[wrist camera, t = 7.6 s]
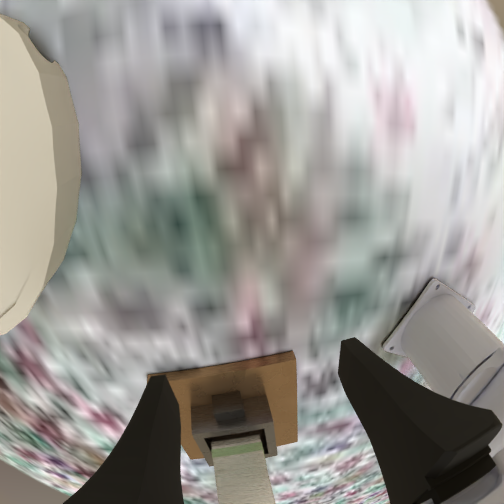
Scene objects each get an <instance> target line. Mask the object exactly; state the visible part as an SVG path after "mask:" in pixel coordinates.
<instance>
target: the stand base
mask: <svg viewBox="0 0 504 504" xmlns="http://www.w3.org/2000/svg"><path fill="white" fill-rule="evenodd" d="M157 375H166V377H167V379H168V381H169V384H170V386H171V388H172V390H173V392H174V395H175V397H176V399H177V401H178V403H179V409H180V419H181V445H182V447H183V448H184V450H185V451H186V453H187V454H188V456H189V458H190V459H200V458H205V460H206V461H207V463H208V465H209V466H214V463H213V458H212V451H211V449H212V445H211V442H214V441H221V440H228V439H235V438H241V437H247V436H252V435H258V434H259V436H260V440H261V441H262V446H263V450H264V455H265V458H267V457H272V456H276V455H277V447H276V446H281V445H285V444H290V443H294V442H298V439H297V373H296V358H295V355H294V352H293V351H290V352H285V353H280V354H276V355H271V356H266V357H261V358H256V359H251V360H245V361H240V362H234V363H228V364H222V365H216V366H210V367H204V368H197V369H190V370H182V371H175V372H167V373H158V374H149V375H148V378H147V383H148V381H149V378H150V377H151V376H157Z"/></svg>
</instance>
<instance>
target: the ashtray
mask: <svg viewBox="0 0 504 504" xmlns="http://www.w3.org/2000/svg"><path fill="white" fill-rule="evenodd" d="M28 28H29V27H28V26H27V25H25V24H24V23H23V22H20V21H18V20H15V19H12V18H10V17H7V16H5V15H2V14H0V335H3V334H6V333H7V332H8V331H10V330H11V329H12V328H13V327H15V326H16V325H17V324H18V323H20V322H21V321H22V320H23V319H25V318H26V317H27V315H28V314H29V312H30V311H31V309H32V308H33V306H34V304H35V302H36V301H37V299H38V297H39V296H40V294H41V292H42V291H43V289H44V288H45V286H46V285H47V283H48V282H49V280H50V279H51V277H52V276H53V275H54V273H55V272H56V271H57V269H58V267H59V266H60V264H61V263H62V261H63V260H64V257H65V254H66V251H67V247H68V244H69V241H70V238H71V235H72V232H73V229H74V226H75V223H76V220H77V209H78V199H79V190H80V182H81V175H82V171H81V159H80V144H79V123H78V120H77V116H76V112H75V109H74V105H73V101H72V97H71V93H70V89H69V85H68V81H67V77H66V76H65V74H64V72H63V70H62V69H61V67H60V65H59V64H58V63H57V62H56V61H55V60H54V62H53V63H51V62H49V61H48V60H46V59H45V58H44V57H43V56H42V55H41V54H40V53H39V51H38V50H37V49H36V47H35V46H34V45H33V43H32V42H31V40H30V38H29V37H28V35H29V31H30V28H29V29H28Z"/></svg>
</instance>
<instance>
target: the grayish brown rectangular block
mask: <svg viewBox="0 0 504 504" xmlns="http://www.w3.org/2000/svg"><path fill="white" fill-rule="evenodd" d="M211 445H212V449H211V451H212V458H213V463H214V471H215V479H216V487H217V495H218V502H219V504H276V503H275V499H274V495H273V491H272V487H271V483H270V479H269V474H268V470H267V465H266V460H265V455H264V450H263V446H262V441H261V440H260V436H259V434H258V435H252V436H247V437H241V438H235V439H228V440H221V441H214V442H211Z"/></svg>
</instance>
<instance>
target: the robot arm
mask: <svg viewBox="0 0 504 504" xmlns="http://www.w3.org/2000/svg"><path fill="white" fill-rule="evenodd" d="M474 310H475V305H474V304H473V303H471V302H470V301H468V300H467V299H465V298H464V297H462V296H461V295H460V294H458V293H457V292H455V291H454V290H452V289H451V288H449V287H448V286H446V285H445V284H443V283H442V282H440V281H439V280H437V279H435V278H434V279H432V280H431V281H430V282H429V284H428V285H427V286H426V288H425V289H424V291H423V292H422V294H421V295H420V297H419V298H418V299H417V301H416V302H415V304H414V305H413V306H412V308H411V309H410V310H409V312H408V313H407V314H406V316H405V317H404V319H403V320H402V321H401V322H400V324H399V325H398V326H397V328H396V329H395V330H394V332H393V333H392V334H391V335H390V337H389V338H388V339H387V340H386V342H385V343H384V344H383V346H382V348H383V349H384V351H387V352H390V353H394V354H397V355H401V356H405V357H408V358H409V359H410V360H411V361H412V363H413V364H414V366H415V367H416V368H417V370H418V371H419V372H420V374H421V375H422V377H423V378H424V379H425V381H426V382H427V383H428V385H429V386H430V388H431V389H432V390H433V391H431V390H429V389H427V388H425V387H423V386H422V385H420V384H418V383H416V382H414V381H413V380H411V379H410V378H408V377H406V376H405V375H403V374H402V373H400V372H399V371H398V370H396V369H395V368H393V367H392V366H391V365H389V364H388V363H387V362H385V361H384V360H383V359H381V358H380V357H379V356H377V355H376V354H375V353H374V352H372V351H371V350H370V349H369V348H367V347H366V346H365V345H364V344H363V343H361V342H360V341H359V340H358V339H356V338H355V337H354V338H350V339H346V340H343V341H341V349H340V359H339V369H338V375H339V377H340V380H341V383H342V386H343V388H344V391H345V393H346V395H347V397H348V399H349V401H350V403H351V405H352V407H353V408H354V410H355V412H356V414H357V416H358V418H359V420H360V421H361V423H362V425H363V427H364V429H365V431H366V433H367V435H368V437H369V439H370V442H371V444H372V447H373V449H374V452H375V455H376V457H377V460H378V463H379V466H380V469H381V472H382V475H383V478H384V482H385V485H386V488H387V492H388V496H389V500H390V504H504V344H503V343H502V342H501V341H500V340H499V339H498V338H497V337H496V336H495V335H494V334H493V333H492V332H491V331H490V330H489V329H488V328H487V327H486V326H485V325H484V324H483V323H482V322H481V321H480V320H479V319H478V318H477V317H476V316H475V315H474V314H473V311H474ZM180 455H181V419H180V409H179V403H178V401H177V399H176V397H175V395H174V392H173V390H172V388H171V386H170V384H169V381H168V379H167V377H166V375H157V376H151V377H150V378H149V381H148V383H147V386H146V388H145V390H144V393H143V395H142V397H141V399H140V401H139V404H138V406H137V408H136V410H135V412H134V414H133V416H132V418H131V420H130V422H129V424H128V425H127V427H126V429H125V431H124V433H123V434H122V436H121V438H120V440H119V441H118V443H117V444H116V446H115V447H114V449H113V450H112V452H111V453H110V455H109V456H108V457H107V459H106V460H105V461H104V463H103V464H102V465H101V466H100V468H99V469H98V470H97V471H96V472H95V474H94V475H93V476H92V477H91V478H90V479H89V480H88V481H87V482H86V483H85V484H84V485H83V486H82V487H81V488H80V489H79V490H78V491H77V492H76V493H75V494H73V495H72V496H71V497H70V498H69V499H68V500H66V501H65V502H64V503H63V504H184V501H183V494H182V486H181V475H180Z"/></svg>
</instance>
